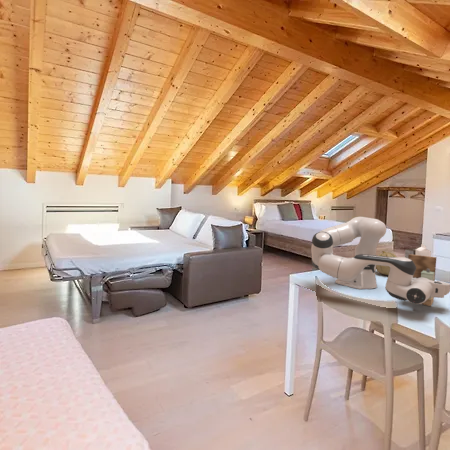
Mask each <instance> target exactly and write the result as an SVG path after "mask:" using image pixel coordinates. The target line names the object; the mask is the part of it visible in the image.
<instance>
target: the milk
mask: <svg viewBox="0 0 450 450" xmlns="http://www.w3.org/2000/svg"><path fill="white" fill-rule="evenodd" d="M415 249H416V252H415V255H421V256H429V257H432V256H431V255H432V253H431V250H429V249H427V246H426V245H424V244H423V243H421V244H420V247H418V248H415Z"/></svg>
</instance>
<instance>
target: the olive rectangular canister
mask: <svg viewBox="0 0 450 450" xmlns="http://www.w3.org/2000/svg"><path fill="white" fill-rule="evenodd" d="M434 275H435V276H436V271H435V272H431V271H430V269H427V271H424V270H423V271H422V272H421V277H423V278H427V279H429V280H432V281H434ZM431 298H432V297H431Z"/></svg>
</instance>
